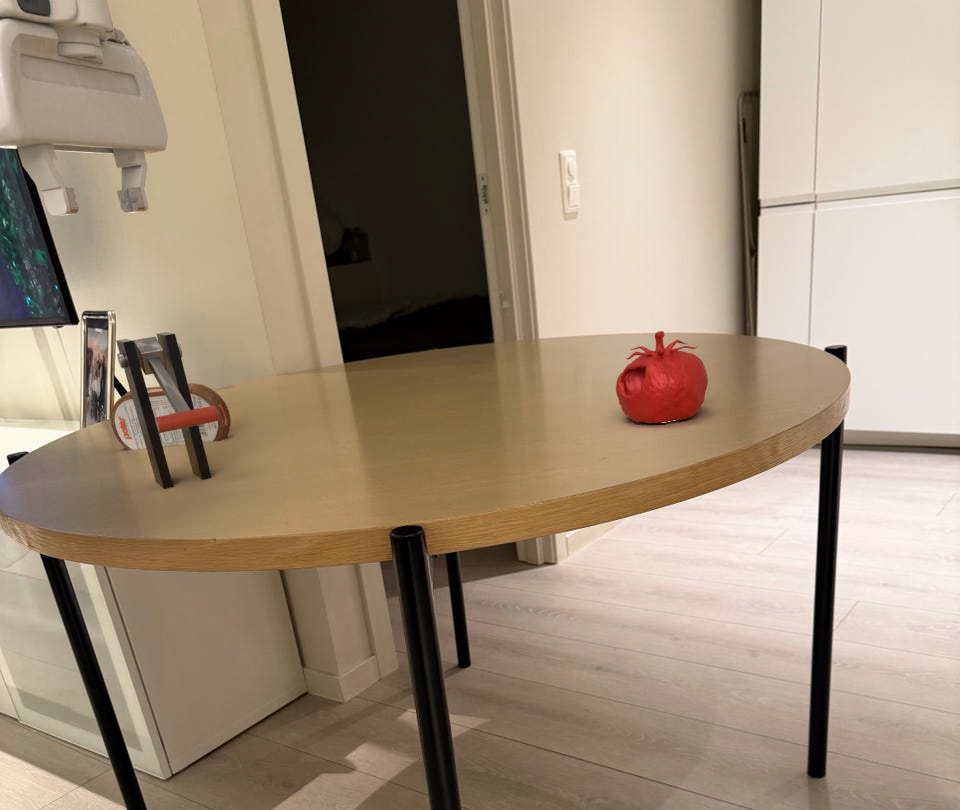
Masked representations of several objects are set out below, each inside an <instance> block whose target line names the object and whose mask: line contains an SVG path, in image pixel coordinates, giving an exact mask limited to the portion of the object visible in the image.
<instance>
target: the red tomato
mask: <svg viewBox="0 0 960 810" xmlns="http://www.w3.org/2000/svg"><path fill="white" fill-rule="evenodd" d="M664 337H665V332H664V331H663V330H659V331H656V332H655V333H654V340H655V349H654V350H651V349H649V348H647V347H646V346H643V345H641V346H637V347H634V348H631V349H630V350H631V351H633V352H632V353H631V354H630V355H629V356H628V357H625V359H626V360H631V359H632V358H633V357H635V356H638V357H636V358H635V359H634V360H633V361H631V362H630V363H628V364H627V365H626V366H625V368H624V369H623V371H622V372H621V373H620V374H619V375H618V377H617V379H616V383H615V393H616V396H617V399H618V404H619V405H620V406H621V410H622V413H624V414H625V415H626V416H627V418H628V419H630V420H631V421H633V422H636V423H639V422H646V423H645V424H651V423H662V422H668V421H673V420H682V421H684V420H687V419H690V418H692V417H694V416H695V414H696V413H697V412H698V411H699V409H700V408H701V407H702V405H703V404H704V402H705V398H706V393H707V389H708V385H709V378H708V377H709V376H708V372H707V369H706V367H705V363H704V362H703V360H702V359H701V358H700V357H699V356H698V355H696V354H694V353H691V352H688V351H683V350H682V349H690V350H695V349H697V348H698V346H690V345H687V343H686V342H684V341H682V340H680V339H675V340H674V341H672V342H670V343H669V344H668V345H667V346H665V345H664ZM677 343H678V344H682V345H683V346H679V347H675V346H676V345H677ZM637 349H638V350H639V349H640V350H642V351H643V352H641V351H634V350H637ZM683 419H684V420H683Z"/></svg>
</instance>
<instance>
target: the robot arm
mask: <svg viewBox="0 0 960 810" xmlns="http://www.w3.org/2000/svg"><path fill="white" fill-rule="evenodd" d="M157 95H158V94H157V92H156V88H155V86H154V82H153V79H152V77H151V74H150V71H149V69H148V67H147V66H146V63H145V61H144V60H143V58H142V57H141V56H140V54H139V53H138V52H137V49H136V48H135V46H133V45H132V44H131V43H130V41H129V40H128V39H127V38H126V35H125V33H124V32H123V31H121V30H120V29H118V28H115V27H114V24H113V20H112V15H111V12H110V9H109V5H108V1H107V0H0V149H13V150H14V149H15V150H17V152H18V155H19V159H20V162H21V166H22V167H23V168H24V171H26V173H27V174H28V175H29V177H30V179H31V180H32V181H33V183H34V184H35V185H36V188H38V189H39V191H41V193H42V196H43V200H44V204H45V207H46V211H47V213H48V214H49V215H50V216H52V217H56V216H57V217H59V216H69V215H75V214H77V213H78V212H79V204H78V202H77V201H76V194H75V190H74V187H67V186H66V183H65V181H64V180H63V179H62V176H61V175H60V173H59V172H58V171H59V170H58V169H57V168H56V165H55V163H57V162H58V158H57V154H56V152H67V153H68V152H69V153H85V154H86V153H88V154H102V155H103V154H104V155H105V154H107V155H113V158H114V162H115V165H116V168H117V169H121V189H120V190H119V189H118V190H116V194H117V197H118V200H119V202H120V203H119V204H120V209H121V211H122V212H123V213H126V214H132V213H133V214H134V213H142V212H146V211H148V209H149V202H148V197H147V195H146V191H145V188H146V181H147V170H148V163H147V159H146V155H150V154H155V153H161V152H164V151H165V150H166V149H167V145H168V139H169V138H168V137H169V135H168V129H167V126H166V123H165V122H166V121H165V118H164V115H163V112H162V108H161V105H160V102H159V98H158V96H157Z"/></svg>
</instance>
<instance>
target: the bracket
mask: <svg viewBox="0 0 960 810" xmlns="http://www.w3.org/2000/svg"><path fill="white" fill-rule="evenodd" d="M156 339H157V340H158V342H159V343H160V345H161V347H162V348H163V350H164V356H165V362H166V367H167V372H168V373H169V375H170V377H171V378H172V380H173V382H174V383H175V385H176V387H177V388H178V390H179V392H180V393H181V395H182V397H183V399H184V400H185V402H186V404H187V405H188V407H189V409H190V410H194V406H193V402H192V398H191V394H190V390H189V386H188V384H189V382H188V380H187V379H188V378H187V375H186V372H185V367H184V363H183V359H182V358H183V351H182V347H181V345H180V344H179V343H178V340H177V336H176V333H173V332H167V331H164V332H159V333H156ZM115 341H116V345H117V349H118V352H119V353H117V355H116V356H117V361H118V364H119V367H120V368H121V369H123V370H124V374H125V377H126V380H127V384H128V389H129V391H130V392H131V395H132V399H133V402H134V406H135V409H136V413H137V417H138V420H139V424H140V427H141V431H142V434H143V438H144V441H145V445H146V448H145V449H146V451H147V455H148V459H149V462H150V463H149V464H150V466H151V469H152V473H153V477H154V481H155V483H156V484H157V485H159V486H160V487H161V488H162V489H163V490H166V489H172V488H174V483H173V480H172V476H171V472H170V468H169V465H168V460H167V458H166V454H165V450H164V446H162V443H161V439H160V435H159V432H158V429H157V426H156V422H155V417H154V413H153V410H152V406H151V402H150V399H149V395H148V392H147V388H148V387H147V385H146V381H145V378H144V372H143V370H142V369H141V366H140V362H139V359H138V355H137V351H136V348H135V344H134V341H133V339H128V338H122V339H116V340H115ZM182 433H183V437H184V441H185V444H184V445H185V448H186V452H187V455H188V459H189V463H190V467H191V470H192V474H193V475H194V476H196V477H197V478H198V479H200V480H201V481H205V480H209V479H213V477H212V473H211V470H210V466H209V461H208V457H207V454H206V450H205V446H204V442H202V438H201V434H200V430H199V426H198V425H197V426H192V427H187V428H182Z"/></svg>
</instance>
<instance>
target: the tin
mask: <svg viewBox="0 0 960 810" xmlns="http://www.w3.org/2000/svg"><path fill="white" fill-rule="evenodd" d="M188 386H189V390H190V394H191V398H192V402H193V406H194V409H199V408H204V407H209V406H215V407H216V408H217V411H218V415H219V421H216V422H211V423H206V424H201V425H198V426H199V430H200V434H201V438H202V442H203V443H208V442H209V443H210V442H211V443H212V442H219V441H222V440H223V439H224V438H227V437H228V435H229V433H230V431H231V430H230V429H231V425H232V423H231V422H232V421H231V418H232V417H231V414H230V410H229V408H228V405H227V404H226V401H225V400H224V398H222V396H220V394H219V393H218V392H217V391H216V390H214V389H212V388H211V387H209V386H207V385H204V384H201V383H195V382H193V383H192V382H191V383H189V382H188ZM146 388H147V392H148V395H149V399H150V402H151V406H152V410H153V413H154V417H155V418H156V417H159V416H164V415H169V414H174V413H175V411H174V409H173V407H172V406H171V404H170V402H169V400H168V399H167V397H166V395H165V394H164V392H163V390H162V388H161V387H160V385H159V386H150V387H146ZM109 417H110V425H111V429H112V431H113V433H114V435H115V437H116V440H117V441H118V442H119V443H120V445H122V447H123V448H125V450H128V451H134V450H142V449H147V448H146V445H145V441H144V438H143V434H142V431H141V427H140V424H139V420H138V417H137V413H136V409H135V406H134V402H133V399H132V395H131V392H130V390H129V391H127V392H126V393H125V394H124V395H122V396H121V397H120V398H118V399H117V400H116V402H115V403H114V404H113V406H112V408H111V411H110V416H109ZM158 432H159V431H158ZM159 435H160V439H161V443H162V446H163V447H172V446H180V445H186V444H185V441H184V437H183V433H182V429H177V430H173V431H168V432H163V433H160V432H159Z"/></svg>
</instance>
